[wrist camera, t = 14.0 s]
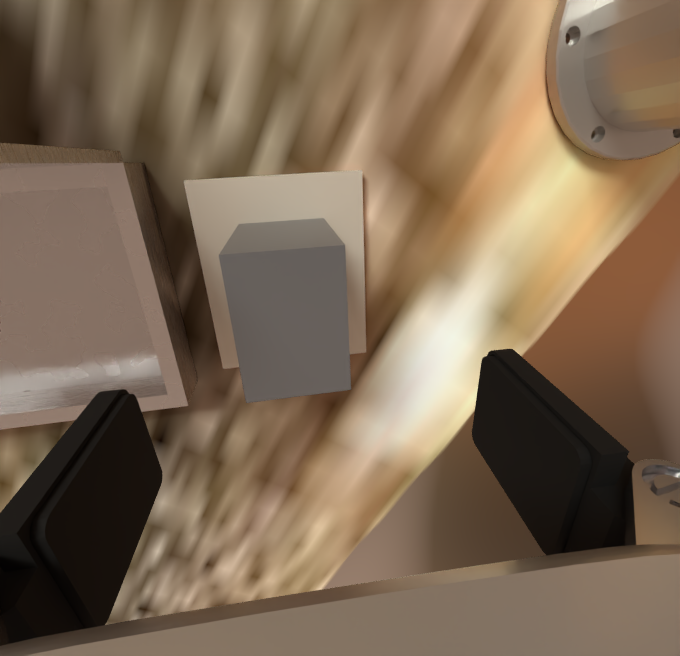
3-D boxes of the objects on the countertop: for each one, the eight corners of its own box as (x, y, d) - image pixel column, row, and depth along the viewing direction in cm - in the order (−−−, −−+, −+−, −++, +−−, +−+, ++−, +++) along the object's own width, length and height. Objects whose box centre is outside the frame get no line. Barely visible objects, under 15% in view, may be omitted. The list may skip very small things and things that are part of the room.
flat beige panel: (360, 170, 22) (362, 170, 21) (364, 348, 27) (366, 352, 26) (185, 180, 21) (183, 180, 20) (224, 364, 26) (223, 369, 25)
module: (323, 217, 22) (345, 244, 15) (330, 324, 25) (351, 389, 18) (238, 223, 22) (218, 255, 14) (255, 332, 25) (246, 403, 17)
